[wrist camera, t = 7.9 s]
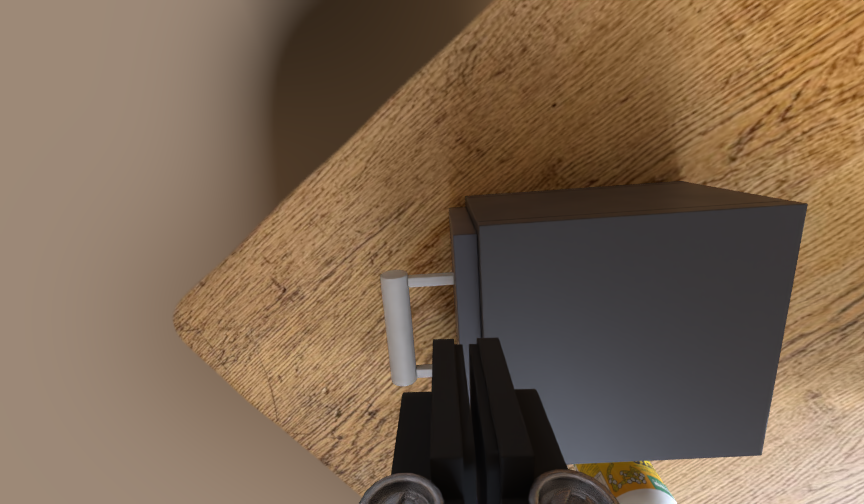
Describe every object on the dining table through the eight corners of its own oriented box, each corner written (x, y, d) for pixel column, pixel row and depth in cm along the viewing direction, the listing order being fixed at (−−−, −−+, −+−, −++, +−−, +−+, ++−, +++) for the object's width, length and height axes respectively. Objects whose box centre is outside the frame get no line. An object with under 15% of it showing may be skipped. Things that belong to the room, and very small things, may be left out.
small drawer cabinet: (473, 370, 32) (488, 468, 22) (464, 195, 28) (478, 225, 19) (664, 359, 31) (762, 455, 22) (681, 180, 27) (808, 203, 18)
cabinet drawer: (402, 374, 31) (390, 451, 23) (385, 212, 27) (365, 240, 20) (639, 361, 30) (706, 436, 23) (652, 193, 27) (737, 216, 19)
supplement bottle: (560, 465, 34) (605, 587, 25) (584, 414, 33) (642, 523, 23) (619, 481, 34) (685, 606, 25) (645, 431, 33) (726, 544, 24)
